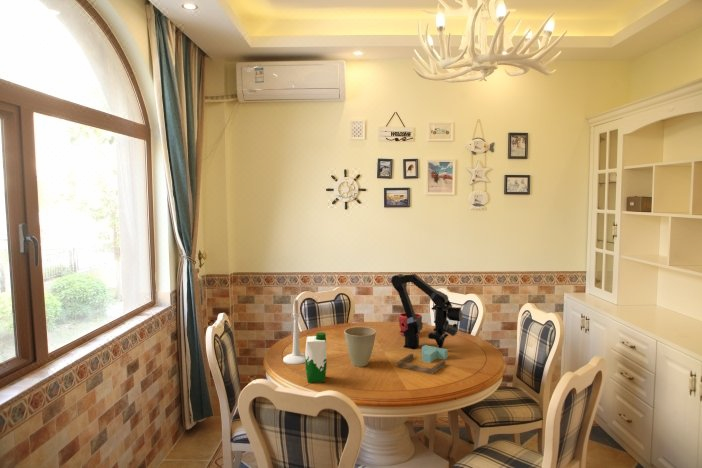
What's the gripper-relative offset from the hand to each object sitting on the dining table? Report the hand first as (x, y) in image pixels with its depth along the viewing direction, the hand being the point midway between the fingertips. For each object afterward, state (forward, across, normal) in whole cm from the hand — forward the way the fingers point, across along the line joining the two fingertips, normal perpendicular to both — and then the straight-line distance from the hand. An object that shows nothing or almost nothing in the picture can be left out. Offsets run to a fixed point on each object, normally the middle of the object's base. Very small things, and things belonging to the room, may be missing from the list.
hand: (440, 348), depth 230 cm
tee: (+2, -12, 0) cm, 12 cm away
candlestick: (+2, -50, +54) cm, 74 cm away
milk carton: (+2, -64, +31) cm, 71 cm away
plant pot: (+2, -38, +25) cm, 45 cm away
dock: (+2, -23, 0) cm, 23 cm away
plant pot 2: (+2, +18, +26) cm, 32 cm away
